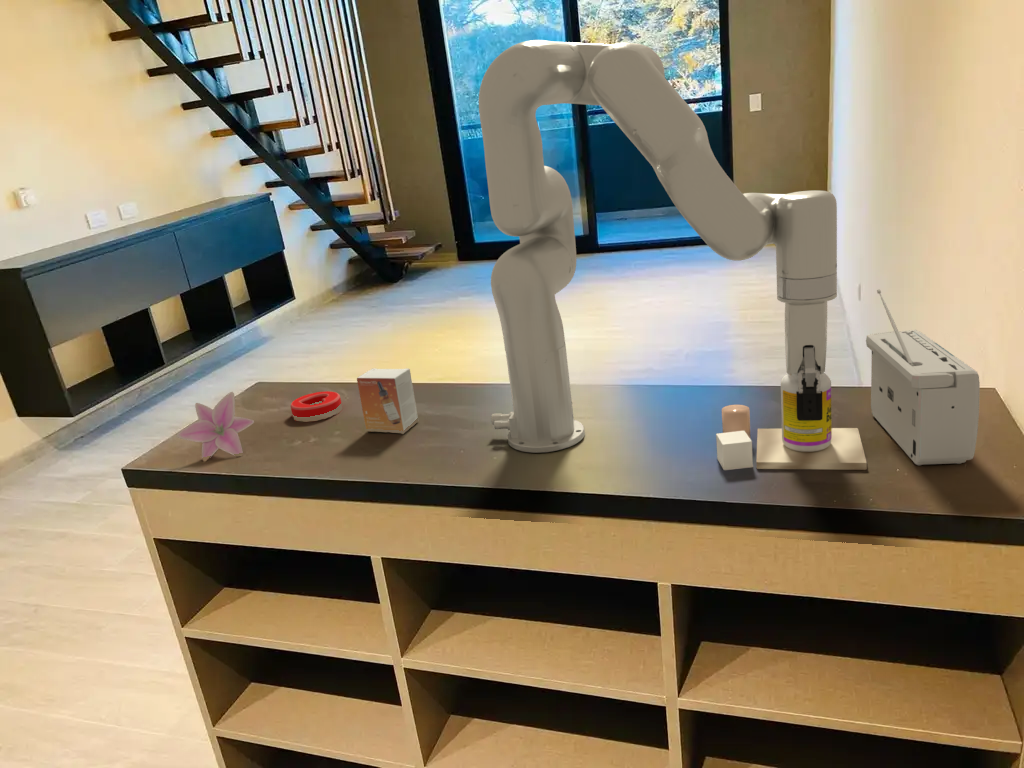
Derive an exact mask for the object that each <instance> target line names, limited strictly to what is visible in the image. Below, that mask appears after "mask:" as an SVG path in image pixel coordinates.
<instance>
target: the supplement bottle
mask: <svg viewBox="0 0 1024 768" xmlns="http://www.w3.org/2000/svg"><path fill="white" fill-rule="evenodd" d="M803 357H804V353H803ZM815 369H816V368H815ZM801 370H805V368H801ZM803 378H805V377H802V380H803ZM815 378H816V376H815ZM820 386H821V391H822V420H811V421H799V420H798V419H797V394H796V391H799V390H798V371H797V373H796V374H792V375H789V374H787V373H786V374H785V375H784V376H783V377H782V378H781V380H780V402H781V404H780V405H781V408H780V411H781V429H782V442H783V444H784V445H785V446H786V447H788V448H789V449H792V450H795V451H801V452H814V451H820V450H823V449H825V448H827V447H828V446H829V445H830V444H831V438H832V428H833V426H832V419H833V418H832V380H831V378H830V377H829V376H828V374H826V373H825V372H824V373H823V374H821V375H820Z"/></svg>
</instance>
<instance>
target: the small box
mask: <svg viewBox="0 0 1024 768" xmlns="http://www.w3.org/2000/svg"><path fill="white" fill-rule="evenodd" d="M411 374H412V373H411V369H410V368H371V369H369V370H367V371H366V372H365V373H362V374H361V375H359V376H358V377H357V378H356V382H357V387H358V393H359V400H360V404H361V411H362V415H363V421H364V427H365V430H366V429H380V430H381V429H382V430H399V431H401V430H402V431H404V430H405V429H406V428H407V427H408V426H410V425H411V424H412V423H413V422H414V421H415V420H416V419H417V418H418V419H419V417H418V412H417V403H416V399H415V393H414V392H415V391H414V386H413V382H412V375H411Z"/></svg>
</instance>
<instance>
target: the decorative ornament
mask: <svg viewBox="0 0 1024 768" xmlns="http://www.w3.org/2000/svg"><path fill="white" fill-rule="evenodd" d="M319 401H322V403H319V404H314V405H310V404H312V403H315V402H319ZM341 403H342V399H341V395H340V393H338V392H336V391H330V390H328V391H327V390H326V391H317V392H312V393H308V394H305V395H302V396H300V397H298V398H296V399H294V400H293V401H292V402H291V403H290V410H291V415H292V414H293V415H294V416H297V417H310V416H315V415H320V414H324V413H327V412H329V411H332V410H334V409H336V408H337V407H338V406H339V405H340V404H341ZM293 415H292V416H293Z"/></svg>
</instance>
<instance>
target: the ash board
mask: <svg viewBox="0 0 1024 768" xmlns="http://www.w3.org/2000/svg"><path fill="white" fill-rule="evenodd" d="M756 437H757V438H756V439H757V440H756V460H755V461H756V469H757V470H839V471H840V470H842V471H843V470H846V471H847V470H849V471H851V470H854V471H855V470H857V471H861V470H862V471H865V470H868V468H867V467H868V466H867V458H866V455H865V451H864V447H863V443H862V439H861V436H860V432H859V428H858V427H832V438H831V444H830V445H829V446H828V447H827V448H825V449H823V450H820V451H814V452H801V451H795V450H792V449H789V448H788V447H786V446H785V445H784V444H783V442H782V428H757V435H756Z"/></svg>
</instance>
